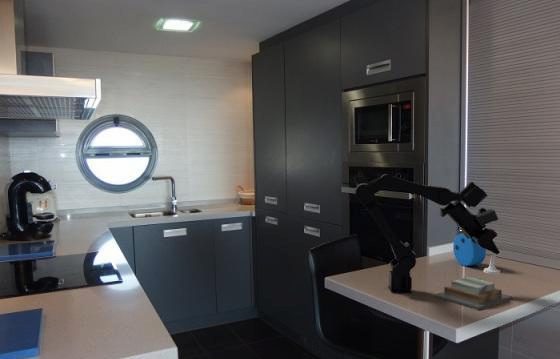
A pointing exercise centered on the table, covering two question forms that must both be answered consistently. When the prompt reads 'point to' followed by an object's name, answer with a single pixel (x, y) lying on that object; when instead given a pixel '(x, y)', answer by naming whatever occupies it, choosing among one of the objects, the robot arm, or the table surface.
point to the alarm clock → (467, 250)
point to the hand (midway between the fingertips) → (497, 252)
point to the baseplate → (472, 304)
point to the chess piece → (492, 265)
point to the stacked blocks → (473, 290)
